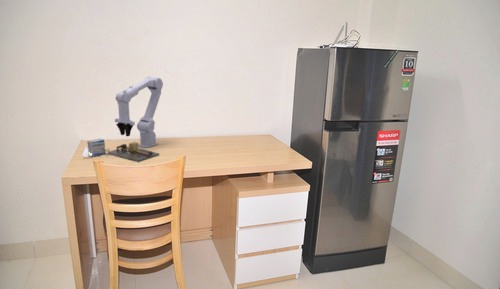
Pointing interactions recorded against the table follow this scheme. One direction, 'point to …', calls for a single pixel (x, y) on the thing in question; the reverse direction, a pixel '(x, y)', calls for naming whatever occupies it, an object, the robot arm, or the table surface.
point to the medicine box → (96, 147)
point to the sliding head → (132, 147)
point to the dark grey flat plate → (132, 154)
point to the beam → (124, 147)
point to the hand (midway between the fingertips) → (125, 135)
